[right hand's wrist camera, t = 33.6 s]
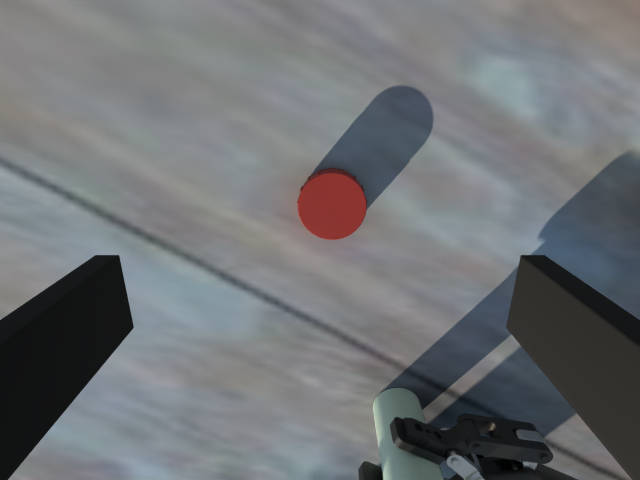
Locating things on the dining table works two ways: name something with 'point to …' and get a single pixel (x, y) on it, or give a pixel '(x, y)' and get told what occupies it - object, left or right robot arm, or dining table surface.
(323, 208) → the lid
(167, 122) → the dining table surface
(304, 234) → the dining table surface
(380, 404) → the bottle
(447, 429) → the left robot arm
